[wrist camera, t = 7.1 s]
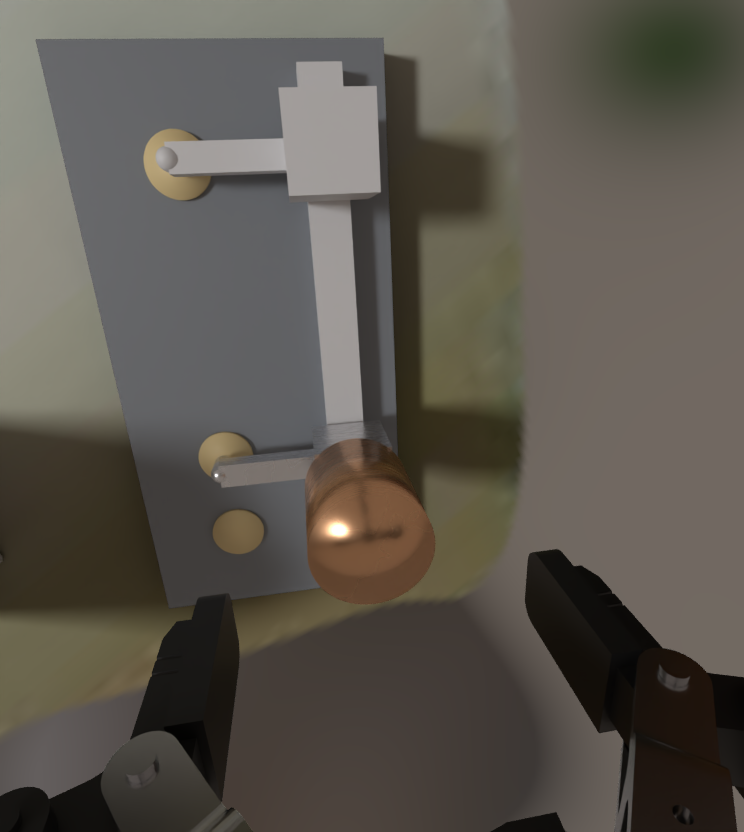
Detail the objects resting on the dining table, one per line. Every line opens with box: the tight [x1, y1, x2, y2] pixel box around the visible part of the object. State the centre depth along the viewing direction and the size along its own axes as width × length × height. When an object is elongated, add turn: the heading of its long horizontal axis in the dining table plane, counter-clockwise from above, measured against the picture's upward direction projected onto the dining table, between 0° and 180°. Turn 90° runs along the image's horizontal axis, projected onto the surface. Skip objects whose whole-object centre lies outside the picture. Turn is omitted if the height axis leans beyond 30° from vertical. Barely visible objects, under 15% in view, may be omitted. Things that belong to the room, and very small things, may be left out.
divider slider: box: [211, 420, 435, 604], centre depth 19 cm, size 4×8×8 cm, turn 93°
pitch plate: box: [36, 38, 398, 609], centre depth 20 cm, size 24×12×6 cm, turn 3°
